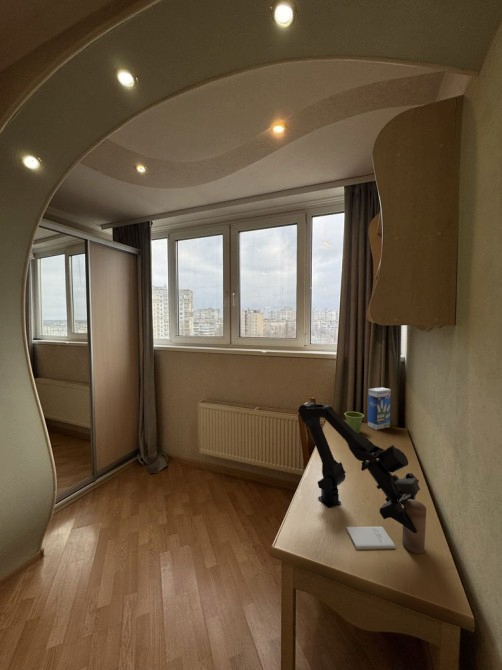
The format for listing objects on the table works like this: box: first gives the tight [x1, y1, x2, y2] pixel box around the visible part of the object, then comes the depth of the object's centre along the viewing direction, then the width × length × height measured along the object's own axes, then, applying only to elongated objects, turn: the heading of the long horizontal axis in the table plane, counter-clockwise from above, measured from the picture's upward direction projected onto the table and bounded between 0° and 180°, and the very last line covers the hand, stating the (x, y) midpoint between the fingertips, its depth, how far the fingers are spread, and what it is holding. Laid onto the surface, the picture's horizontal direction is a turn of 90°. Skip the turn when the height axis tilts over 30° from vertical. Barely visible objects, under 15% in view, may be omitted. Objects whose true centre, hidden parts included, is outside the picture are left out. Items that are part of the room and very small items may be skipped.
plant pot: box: [344, 411, 365, 434], centre depth 175 cm, size 12×12×11 cm
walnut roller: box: [401, 499, 427, 555], centre depth 85 cm, size 6×6×13 cm
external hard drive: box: [345, 526, 396, 550], centre depth 89 cm, size 2×8×12 cm
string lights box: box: [367, 386, 392, 431], centre depth 184 cm, size 13×8×26 cm, turn 115°
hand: (419, 527), depth 84 cm, fingers closed on walnut roller, 6 cm apart
